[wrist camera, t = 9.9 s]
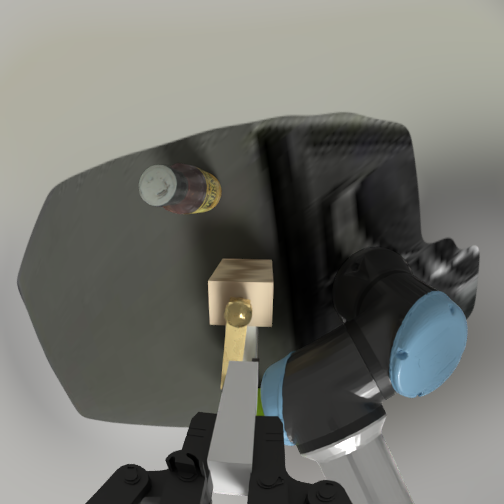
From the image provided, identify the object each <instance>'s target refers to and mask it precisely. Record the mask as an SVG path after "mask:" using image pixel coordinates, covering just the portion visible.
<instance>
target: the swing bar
mask: <svg viewBox="0 0 504 504" xmlns="http://www.w3.org/2000/svg"><path fill="white" fill-rule="evenodd" d="M250 302H251V300H249V299H244V298H240V297H237V298H235V297H230V300H229V302H228V303H227V306H226V309H225V312H224V317H225V320H226V322H227V325H226V335H225V345H224V356H223V367H222V378H221V389H222V391H223V387H224V382H225V378H226V373H227V369H228V364H229V361H243V354H244V347H245V340H246V332H247V325H248V324H249V323H250V321H251V319H252V313H253V308H252V305H251V303H250Z"/></svg>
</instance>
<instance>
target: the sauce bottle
mask: <svg viewBox="0 0 504 504" xmlns="http://www.w3.org/2000/svg"><path fill="white" fill-rule="evenodd" d="M139 192H140V195H141V197H142V199H143V200H144V201H145V202H146V203H148V204H150V205H152V206H155V207H164V208H165V209H166V210H168V211H170V212H173V213H177V214H192V213H199V212H206V211H209V210H211V209H212V208H214V207H215V206H216V205H217V204H218V202H219V201H220V197H221V192H222V190H221V186H220V183H219V181H218V180H217V179H216V178H215V177H214V176H213V175H212V174H210V173H208V172H205V171H203V170H201V169H199V168H197V167H195V166H192V165H187V164H181V163H176V164H174V165H172V166H166V165H162V164H156V165H153V166H151V167H149V168H147V169H146V170H145V172H144V173H143V174H142V176H141V178H140V181H139Z"/></svg>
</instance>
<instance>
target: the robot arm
mask: <svg viewBox="0 0 504 504" xmlns="http://www.w3.org/2000/svg"><path fill="white" fill-rule="evenodd" d="M332 299H333V304H334V307H335V310H336V311H337V313H338V315H339V317H340V318H341V320H342V321H343V322H344V323H345V324H343V325H342V326H340V327H338V328H337V329H335V330H333V331H331V332H330V333H328V334H326V335H325V336H323V337H321V338H319V339H318V340H316V341H314V342H312V343H310V344H309V345H307V346H305V347H303V348H301V349H299V350H297V351H292V352H291V353H289V354H288V355H287V356H286V357H284V358H283V359H281V360H279V361H278V362H276V363H274V364H272V365H271V366H270V367H268V369H267V370H266V371H265V373H264V376H263V379H262V382H261V402H262V408H263V412H264V415H265V416H256V414H257V393H258V362H247V361H229V364H228V369H227V373H226V378H225V382H224V387H223V391H222V395H221V400H220V404H219V409H218V413H217V414H213V413H203V412H198V413H197V414H196V415H195V416H194V417H193V418H192V420H191V423H190V426H189V429H188V432H187V436H186V438H185V441H184V444H183V448H182V450H179V451H175V452H173V453H171V454H170V455H168V457H167V458H166V463H167V466H168V468H169V469H167V470H162V471H146V470H145V469H144V468H142V467H141V466H138V465H135V464H127V465H124V466H121V467H120V468H119V469H117V470H116V471H115V473H114V474H113V475H112V476H111V477H110V478H109V479H108V480H107V481H106V482H105V483H104V485H103V486H102V487H101V488H100V489H99V490H98V491H97V492H96V493H95V494H94V495H93V497H91V498H90V499H89V500H88V502H87V503H86V504H212V499H211V497H212V491H213V492H214V493H220V494H230V495H245V496H248V502H247V504H414V502H413V500H412V498H411V495H410V493H409V491H408V489H407V486H406V484H405V482H404V480H403V478H402V475H401V473H400V471H399V469H398V466H397V464H396V462H395V460H394V458H393V456H392V454H391V452H390V449H389V447H388V445H387V443H386V441H385V439H384V437H383V435H382V427H383V424H384V421H385V419H386V416H387V414H386V412H385V410H384V408H383V406H382V402H383V401H385V400H387V399H388V398H390V397H392V396H393V395H395V394H397V393H399V394H400V395H403V396H405V397H409V398H414V397H416V396H417V395H418V396H420V397H421V396H424V395H426V394H429V393H430V392H432V391H434V390H435V389H437V388H438V387H439V386H440V385H441V384H443V383H444V382H445V381H446V380H447V379H448V378H449V376H450V375H451V374H452V373H453V371H454V370H455V368H456V367H457V365H458V363H459V361H460V359H461V355H462V353H463V351H464V349H465V346H466V341H467V322H466V318H465V315H464V313H463V311H462V310H461V309H460V307H459V306H458V305H456V304H455V303H454V302H453V301H452V300H451V299H450V298H449V297H448V296H447V295H446V294H445V293H443V292H440V291H438V290H436V289H435V288H433V287H431V286H430V285H428V284H427V283H425V282H423V281H422V280H420V279H418V278H417V277H415V276H414V275H413V273H412V270H411V268H410V266H409V264H408V263H407V262H406V260H405V259H404V258H403V257H402V256H400V255H399V254H397V253H396V252H394V251H392V250H390V249H387V248H383V247H370V248H366V249H363V250H361V251H359V252H357V253H355V254H354V255H352V256H351V257H350V258H348V259H347V260H346V261H345V263H344V264H343V265H342V266H341V268H340V269H339V271H338V273H337V275H336V277H335V280H334V283H333V289H332ZM350 335H351V336H350ZM383 397H384V398H383ZM384 399H385V400H384ZM284 445H291V446H293V445H296V446H297V448H298V450H299V452H300V454H301V456H303V457H306V458H308V459H311V460H314V461H316V462H318V464H319V466H320V468H321V471H322V473H323V475H324V477H325V479H326V480H323V481H319V482H317V483H314V484H309V483H304V482H300V481H297V480H295V479H293V478H291V477H290V476H289V475H288V473H287V471H286V468H285V450H284Z"/></svg>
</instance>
